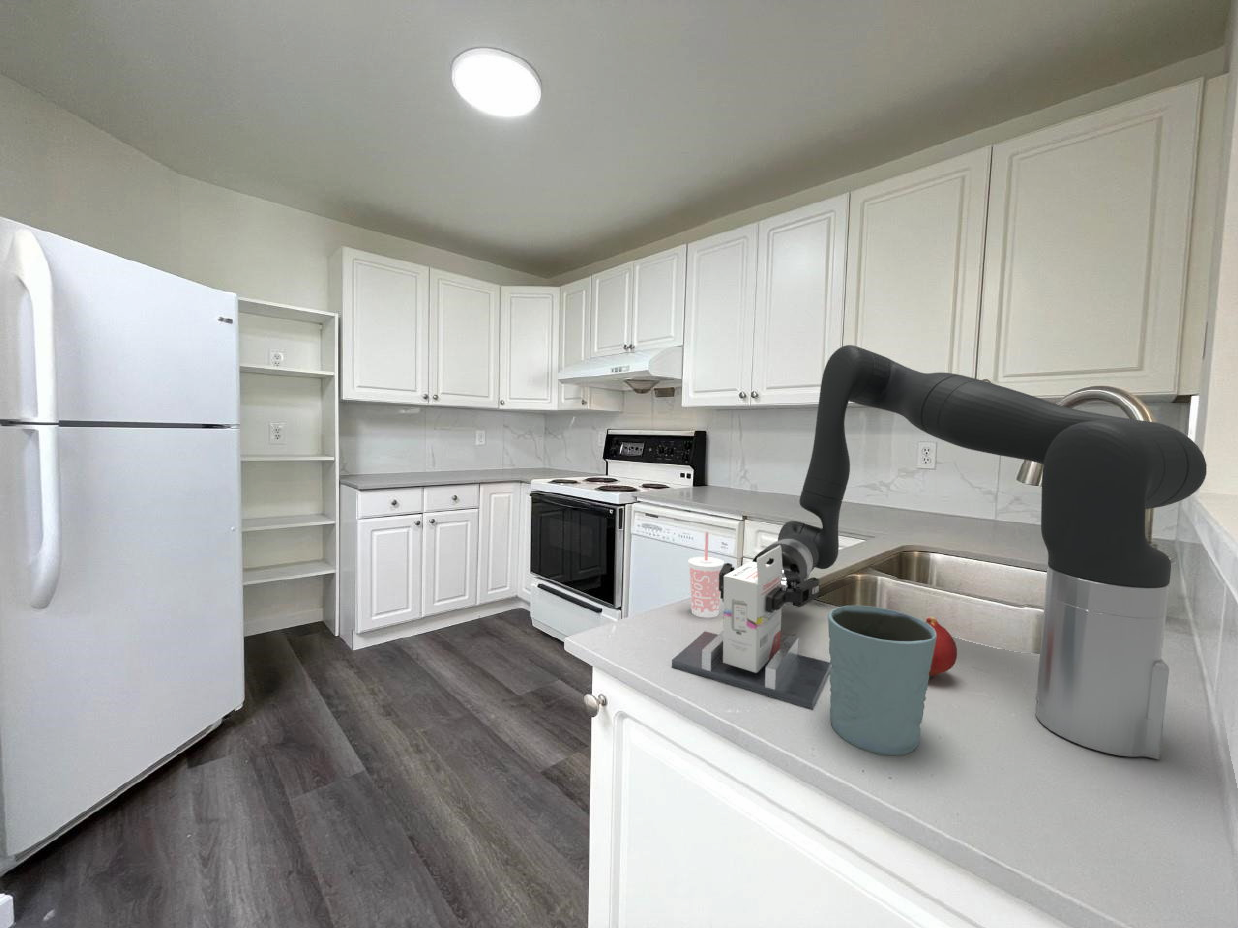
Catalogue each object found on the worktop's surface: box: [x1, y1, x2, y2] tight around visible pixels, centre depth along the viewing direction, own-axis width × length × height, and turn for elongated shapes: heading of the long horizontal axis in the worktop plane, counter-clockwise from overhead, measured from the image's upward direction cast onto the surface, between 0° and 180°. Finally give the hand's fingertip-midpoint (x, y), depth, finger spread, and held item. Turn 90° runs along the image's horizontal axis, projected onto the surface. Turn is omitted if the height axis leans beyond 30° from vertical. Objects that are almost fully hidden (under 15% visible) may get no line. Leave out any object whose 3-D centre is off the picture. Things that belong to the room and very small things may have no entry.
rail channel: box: [671, 630, 831, 710], centre depth 68 cm, size 18×11×4 cm, turn 57°
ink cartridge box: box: [722, 545, 783, 673], centre depth 67 cm, size 9×5×15 cm, turn 143°
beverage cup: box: [687, 531, 725, 619], centre depth 87 cm, size 6×6×14 cm
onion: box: [925, 616, 958, 678], centre depth 66 cm, size 6×6×8 cm
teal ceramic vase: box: [827, 605, 937, 756], centre depth 54 cm, size 10×10×12 cm
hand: (746, 600), depth 65 cm, fingers closed on ink cartridge box, 5 cm apart
